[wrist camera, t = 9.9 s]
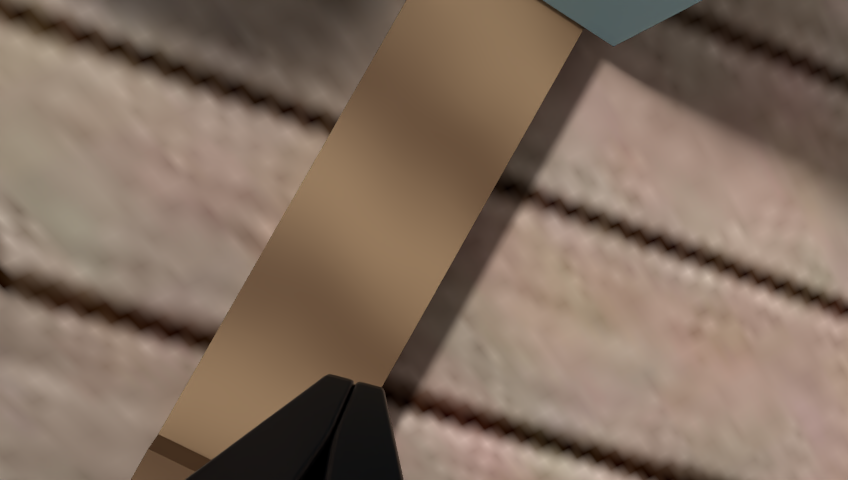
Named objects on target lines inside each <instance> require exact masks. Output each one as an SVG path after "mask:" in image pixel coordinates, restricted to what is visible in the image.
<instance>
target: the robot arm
mask: <svg viewBox="0 0 848 480" xmlns="http://www.w3.org/2000/svg"><path fill="white" fill-rule="evenodd" d="M185 480H403V475H402V470H401V466H400V461H399V456H398V452H397V447H396V442H395V438H394V433H393V428H392V423H391V419H390V414H389V409H388V405H387V400H386V395H385V391H384V389H383V388H382V387H380V386H376V385H372V384H368V383H364V382H357V383H356V384H354V381H353V380H352V379H349V378H345V377H341V376H337V375H333V374H327V375H325V376H324V377H322V378H321V379H320V380H318V381H317V382H316V383H314V384H313V385H312V386H310V387H309V388H308V389H306V390H305V391H304V392H302V393H301V394H299V395H298V396H297V397H295V398H294V399H293V400H291V401H290V402H289V403H287V404H286V405H285V406H283V407H282V408H281V409H279V410H278V411H277V412H275V413H274V414H272V415H271V416H270V417H268V418H267V419H266V420H264V421H263V422H262V423H260V424H259V425H258V426H256V427H255V428H254V429H252V430H251V431H250V432H248V433H247V434H245V435H244V436H243V437H241V438H240V439H239V440H237V441H236V442H235V443H233V444H232V445H231V446H229V447H228V448H227V449H225V450H224V451H223V452H221V453H220V454H218V455H217V456H216V457H214V458H213V459H212V460H210V461H209V462H208V463H206V464H205V465H204V466H202V467H201V468H200V469H198V470H197V471H195V472H194V473H193V474H191V475H190V476H189V477H187V478H186V479H185Z"/></svg>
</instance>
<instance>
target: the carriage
mask: <svg viewBox="0 0 848 480" xmlns="http://www.w3.org/2000/svg"><path fill="white" fill-rule="evenodd" d="M543 1H545V2H546V3H548V4H549V5H551V6H552V7H554V8H555V9H557V10H558V11H560V12H561V13H563V14H564V15H566V16H567V17H569V18H571V19H572V20H574V21H575V22H577V23H578V24H580V25H581V26H583V27H584V28H586V29H587V30H589V31H590V32H592V33H593V34H595V35H597V36H598V37H600V38H601V39H603V40H604V41H606V42H607V43H609V44H610V45H612V46H613V47H614V46H616V45H617V44H619V43H621V42H623V41H625V40H627V39H629V38H631V37H633V36H635V35H637V34H639V33H641V32H642V31H644V30H646V29H648V28H650V27H652V26H654V25H656V24H658V23H660V22H662V21H664V20H666V19H667V18H669V17H671V16H673V15H675V14H677V13H679V12H681V11H683V10H685V9H687V8H689V7H691V6H692V5H694V4H696V3H698V2H700V1H702V0H543Z"/></svg>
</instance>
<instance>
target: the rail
mask: <svg viewBox="0 0 848 480" xmlns="http://www.w3.org/2000/svg"><path fill="white" fill-rule="evenodd" d="M583 29H584V27H583V26H581V25H580V24H578V23H577V22H575V21H574V20H572V19H571V18H569V17H567V16H566V15H564V14H563V13H561V12H560V11H558V10H557V9H555V8H554V7H552V6H551V5H549V4H548V3H546V2H545V1H543V0H406V2H405V4H404V5H403V7H402V9H401V11H400V12H399V14H398V16H397V18H396V19H395V21H394V23H393V25H392V26H391V28H390V30H389V32H388V33H387V35H386V37H385V39H384V40H383V42H382V44H381V46H380V47H379V49H378V51H377V53H376V54H375V56H374V58H373V60H372V61H371V63H370V65H369V67H368V68H367V70H366V72H365V74H364V75H363V77H362V79H361V81H360V82H359V84H358V86H357V88H356V89H355V91H354V93H353V95H352V96H351V98H350V100H349V102H348V103H347V105H346V107H345V109H344V110H343V112H342V114H341V116H340V117H339V119H338V121H337V123H336V124H335V126H334V128H333V130H332V131H331V133H330V135H329V137H328V138H327V140H326V142H325V144H324V145H323V147H322V149H321V151H320V152H319V154H318V156H317V158H316V159H315V161H314V163H313V165H312V166H311V168H310V170H309V172H308V173H307V175H306V177H305V179H304V180H303V182H302V184H301V186H300V187H299V189H298V191H297V193H296V194H295V196H294V198H293V200H292V201H291V203H290V205H289V207H288V208H287V210H286V212H285V214H284V215H283V217H282V219H281V221H280V222H279V224H278V226H277V228H276V229H275V231H274V233H273V235H272V236H271V238H270V240H269V242H268V243H267V245H266V247H265V249H264V250H263V252H262V254H261V256H260V257H259V259H258V261H257V263H256V264H255V266H254V268H253V270H252V271H251V273H250V275H249V277H248V278H247V280H246V282H245V284H244V285H243V287H242V289H241V291H240V292H239V294H238V296H237V298H236V299H235V301H234V303H233V305H232V306H231V308H230V310H229V312H228V313H227V315H226V317H225V319H224V320H223V322H222V324H221V326H220V327H219V329H218V331H217V333H216V334H215V336H214V338H213V340H212V341H211V343H210V345H209V347H208V348H207V350H206V352H205V354H204V355H203V357H202V359H201V361H200V362H199V364H198V366H197V368H196V369H195V371H194V373H193V375H192V376H191V378H190V380H189V382H188V383H187V385H186V387H185V389H184V390H183V392H182V394H181V396H180V397H179V399H178V401H177V403H176V404H175V406H174V408H173V410H172V411H171V413H170V415H169V417H168V418H167V420H166V422H165V424H164V425H163V427H162V429H161V431H160V432H159V434H158V436H157V437H156V438H155V440H154V441H153V443H152V444H151V446H150V447H149V449H148V450H147V452H146V454H145V456H144V457H143V459H142V461H141V463H140V464H139V466H138V468H137V470H136V471H135V473H134V475H133V477H132V478H131V480H185V479H186V478H187V477H189V476H190V475H191V474H193V473H194V472H195V471H197V470H198V469H200V468H201V467H202V466H204V465H205V464H206V463H208V462H209V461H210V460H212V459H213V458H214V457H216V456H217V455H218V454H220V453H221V452H223V451H224V450H225V449H227V448H228V447H229V446H231V445H232V444H233V443H235V442H236V441H237V440H239V439H240V438H241V437H243V436H244V435H245V434H247V433H248V432H250V431H251V430H252V429H254V428H255V427H256V426H258V425H259V424H260V423H262V422H263V421H264V420H266V419H267V418H268V417H270V416H271V415H272V414H274V413H275V412H277V411H278V410H279V409H281V408H282V407H283V406H285V405H286V404H287V403H289V402H290V401H291V400H293V399H294V398H295V397H297V396H298V395H299V394H301V393H302V392H304V391H305V390H306V389H308V388H309V387H310V386H312V385H313V384H314V383H316V382H317V381H318V380H320V379H321V378H322V377H324V376H325V375H327V374H333V375H337V376H341V377H345V378H349V379H352V380H353V381H354V384H356V383H357V382H364V383H368V384H372V385H376V386H380V387H382V386H383V384H384V382H385V380H386V379H387V377H388V375H389V373H390V372H391V370H392V368H393V366H394V364H395V363H396V361H397V359H398V357H399V356H400V354H401V352H402V350H403V349H404V347H405V345H406V343H407V341H408V340H409V338H410V336H411V334H412V333H413V331H414V329H415V327H416V325H417V324H418V322H419V320H420V318H421V317H422V315H423V313H424V311H425V309H426V308H427V306H428V304H429V302H430V301H431V299H432V297H433V295H434V294H435V292H436V290H437V288H438V286H439V285H440V283H441V281H442V279H443V278H444V276H445V274H446V272H447V270H448V269H449V267H450V265H451V263H452V262H453V260H454V258H455V256H456V254H457V253H458V251H459V249H460V247H461V246H462V244H463V242H464V240H465V238H466V237H467V235H468V233H469V231H470V230H471V228H472V226H473V224H474V223H475V221H476V219H477V217H478V215H479V214H480V212H481V210H482V208H483V207H484V205H485V203H486V201H487V199H488V198H489V196H490V194H491V192H492V191H493V189H494V187H495V185H496V183H497V182H498V180H499V178H500V176H501V175H502V173H503V171H504V169H505V168H506V166H507V164H508V162H509V160H510V159H511V157H512V155H513V153H514V152H515V150H516V148H517V146H518V144H519V143H520V141H521V139H522V137H523V136H524V134H525V132H526V130H527V128H528V127H529V125H530V123H531V121H532V120H533V118H534V116H535V114H536V112H537V111H538V109H539V107H540V105H541V104H542V102H543V100H544V98H545V97H546V95H547V93H548V91H549V89H550V88H551V86H552V84H553V82H554V81H555V79H556V77H557V75H558V73H559V72H560V70H561V68H562V66H563V65H564V63H565V61H566V59H567V57H568V56H569V54H570V52H571V50H572V49H573V47H574V45H575V43H576V42H577V40H578V38H579V36H580V34H581V33H582V31H583Z"/></svg>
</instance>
